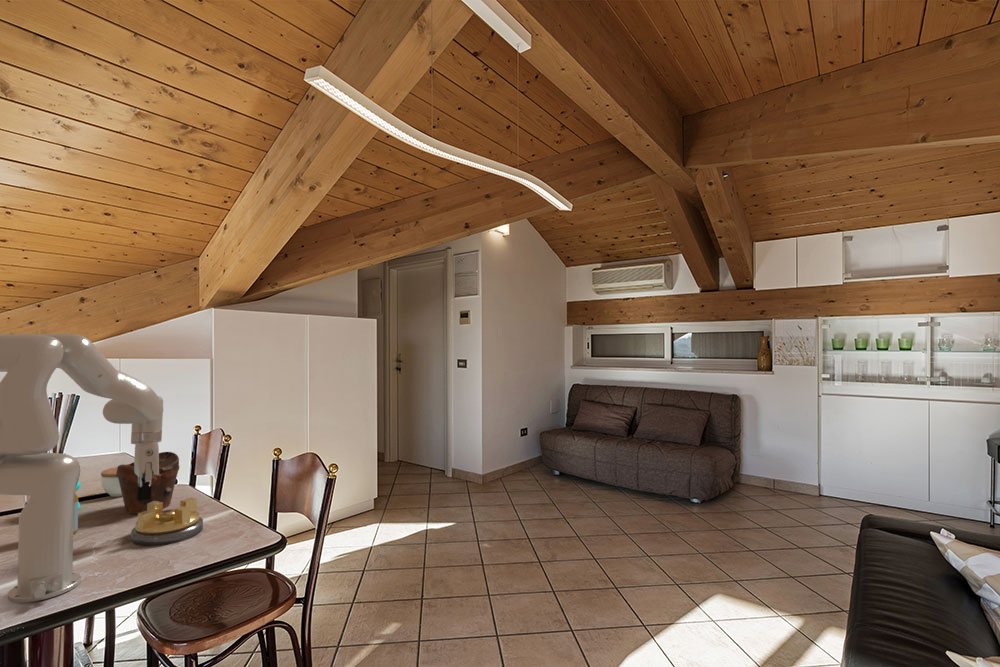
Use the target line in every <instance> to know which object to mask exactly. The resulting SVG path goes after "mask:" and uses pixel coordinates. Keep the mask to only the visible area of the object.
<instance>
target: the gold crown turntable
mask: <svg viewBox="0 0 1000 667" xmlns="http://www.w3.org/2000/svg"><path fill="white" fill-rule="evenodd" d="M197 499H198V498H197V497H189V498H185V499H181V500H180V503H179V505H180V506H179V507H177V508H176V507H175V508H174V509H173V508H171V509H166V510H164V508H163V502H159V501H152V502H150V503H147V511H144V512H141V513H138V514H137V521H136V523H135V527H134V528H135V531H136V533H138V534H142V535H161V534H168V533H173V532H177V531H181V530H184V529H187V528H190V527H192V526H194V525H196V524H197V523H198V522H199V517H200V513H199V511H197Z"/></svg>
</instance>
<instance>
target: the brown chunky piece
mask: <svg viewBox="0 0 1000 667" xmlns="http://www.w3.org/2000/svg"><path fill="white" fill-rule="evenodd" d="M117 467H118V468H117V473H116V477H118V479H119V484H120V488H121V492H122V496H121V497H122V502H123V504H124V509H125V512H126V513H127V514H130V515H131V514H133V515H134V514H137V515H138V513H141V512H144V511H147V503H150V502H152V501H159V502H163V509H165V508H167V507H169V506H170V505H171V503H172V497H173V494H174V491H175V490H174V489H175V485H176V482H177V480H176V479H177V477H178V474H179V470H180V458H179V456H178V454H176V452H172V451H163V452H159V475H158V476H155V475H154V474H153V473H152V479H151V499H148V500H142V501H138V500H137V486H138V476H137V475H136V474H135V472H134V461H133V462H131V463H127V464H124V465H122V464H120V465H118V466H117Z"/></svg>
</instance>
